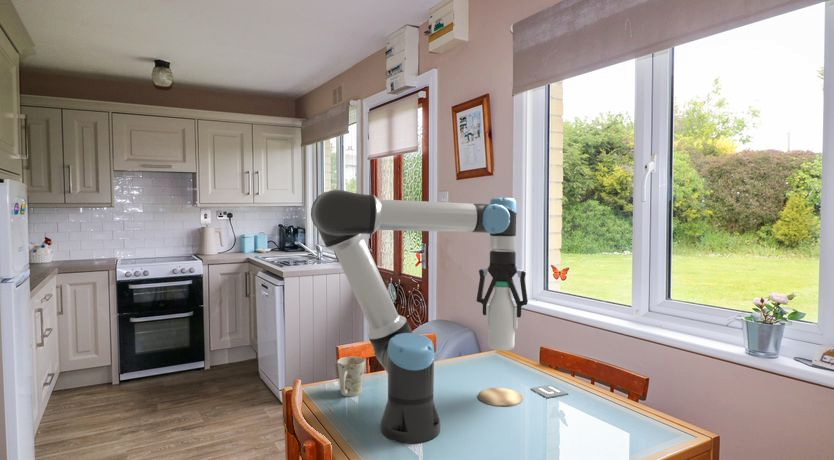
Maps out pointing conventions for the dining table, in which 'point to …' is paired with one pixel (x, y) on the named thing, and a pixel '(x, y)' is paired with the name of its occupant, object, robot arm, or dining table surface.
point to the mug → (351, 375)
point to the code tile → (549, 391)
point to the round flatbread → (500, 397)
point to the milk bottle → (501, 318)
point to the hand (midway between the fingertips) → (501, 326)
